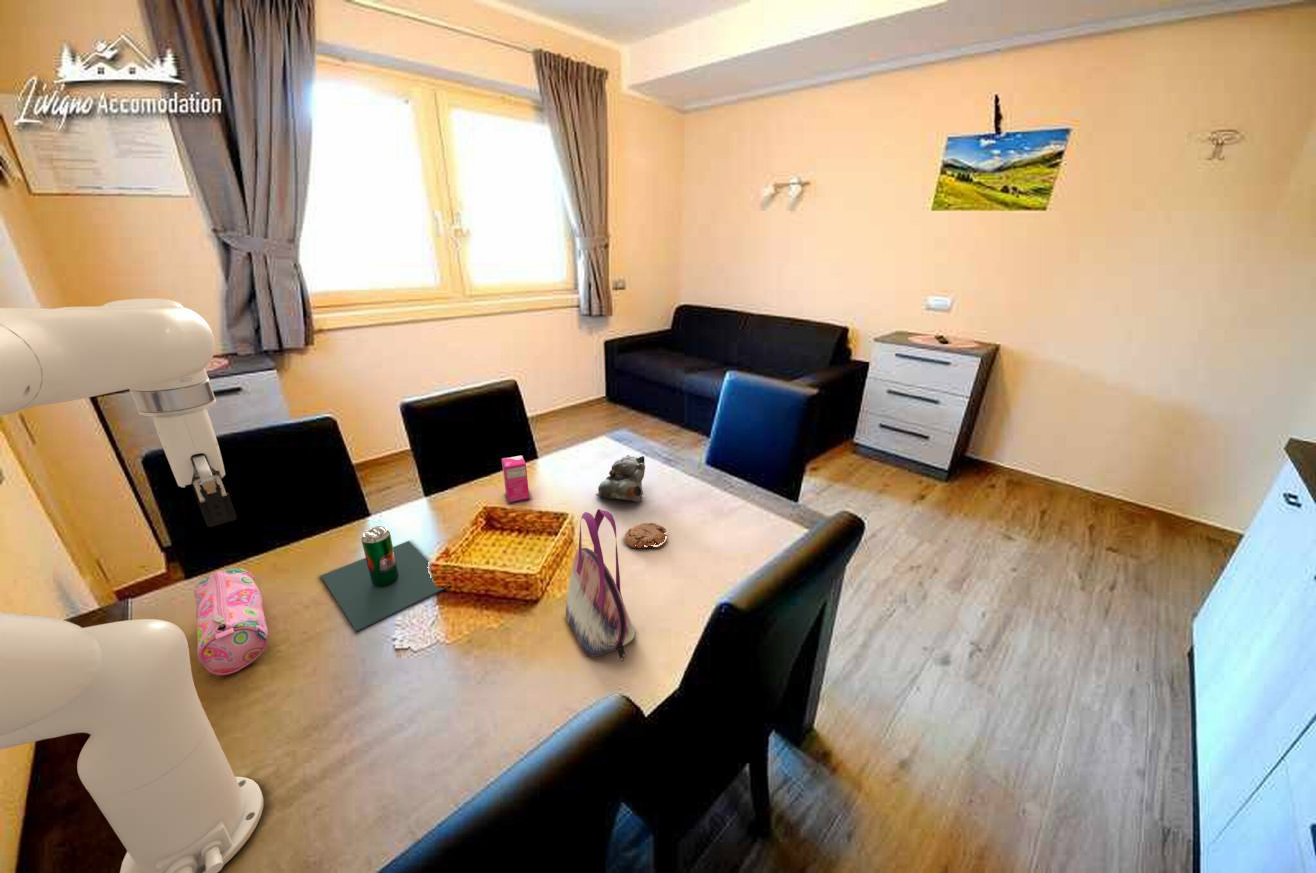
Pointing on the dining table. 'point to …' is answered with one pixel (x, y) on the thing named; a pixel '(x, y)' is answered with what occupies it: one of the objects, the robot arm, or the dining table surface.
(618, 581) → the handbag
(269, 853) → the dining table surface
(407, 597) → the place mat
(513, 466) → the supplement box
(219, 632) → the pencil case
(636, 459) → the lucky cat figurine
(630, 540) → the cookie
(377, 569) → the soda can
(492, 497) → the dining table surface
